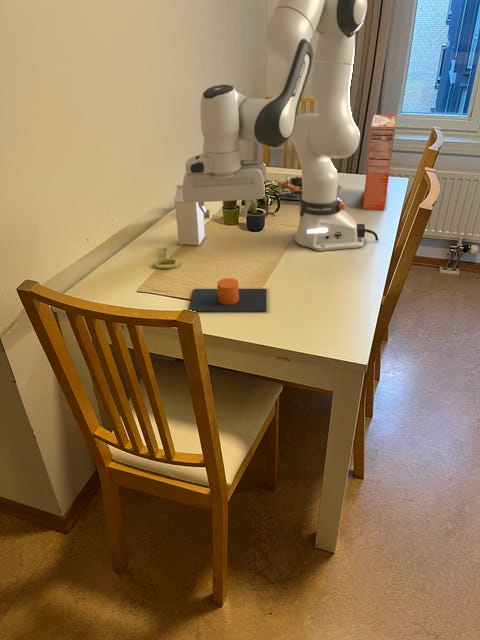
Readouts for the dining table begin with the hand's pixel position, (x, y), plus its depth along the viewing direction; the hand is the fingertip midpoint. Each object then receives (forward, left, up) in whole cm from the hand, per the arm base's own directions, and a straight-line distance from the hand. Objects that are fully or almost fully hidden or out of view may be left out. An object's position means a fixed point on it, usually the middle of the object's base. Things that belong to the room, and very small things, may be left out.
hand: (225, 216), depth 126 cm
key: (+21, -20, -22) cm, 36 cm away
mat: (0, +5, -22) cm, 22 cm away
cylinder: (0, +5, -21) cm, 22 cm away
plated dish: (-22, -87, -22) cm, 93 cm away
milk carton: (+15, -36, -22) cm, 45 cm away
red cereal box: (-54, -77, -22) cm, 96 cm away
